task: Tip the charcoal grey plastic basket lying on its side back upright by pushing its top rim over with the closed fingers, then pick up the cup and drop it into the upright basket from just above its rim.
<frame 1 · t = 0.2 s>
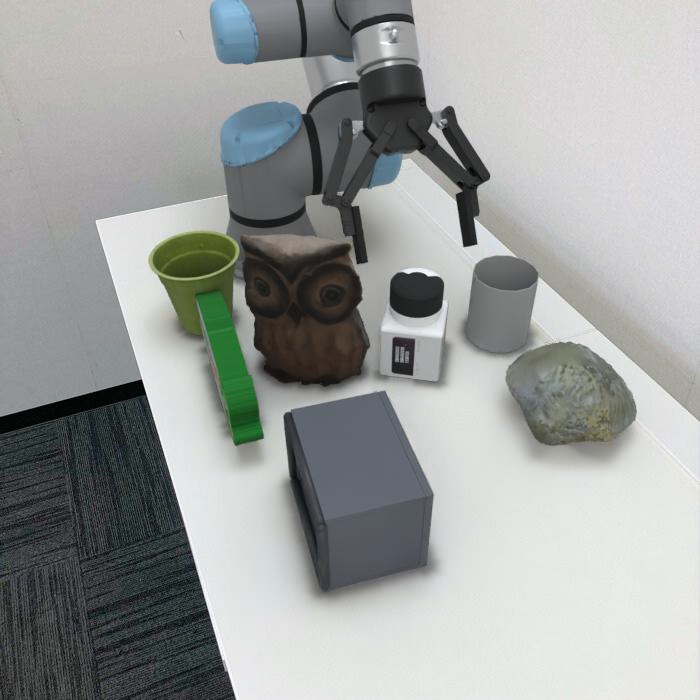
hand: (417, 255, 84), 16 cm above the table, tool tilted 35°, fingers open, 13 cm apart
decorative stone: (564, 417, 85), on the table
plant pot: (206, 322, 100), on the table, touching sign
sign: (230, 389, 89), on the table, touching plant pot
container: (412, 361, 93), on the table
cup: (496, 334, 97), on the table
basket: (358, 520, 74), on the table
owl: (317, 358, 94), on the table
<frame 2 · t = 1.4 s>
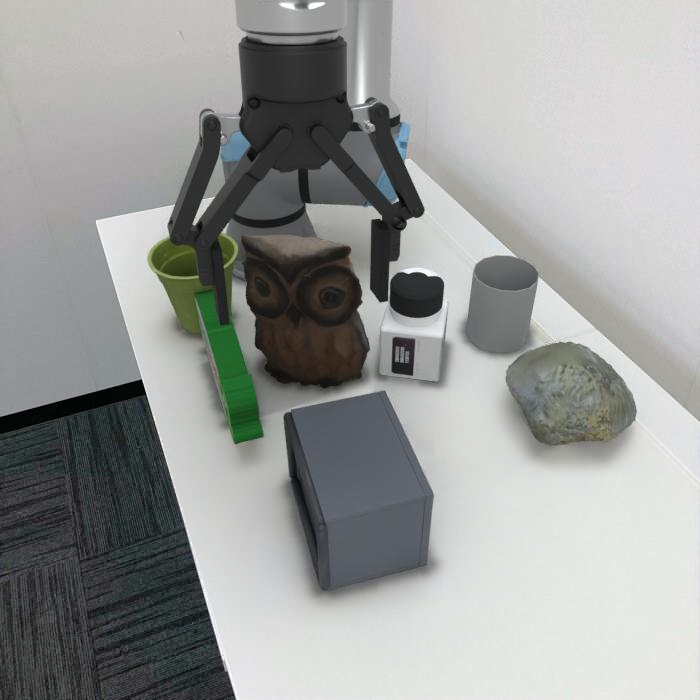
hand: (302, 306, 60), 25 cm above the table, tool pointing down, fingers open, 13 cm apart
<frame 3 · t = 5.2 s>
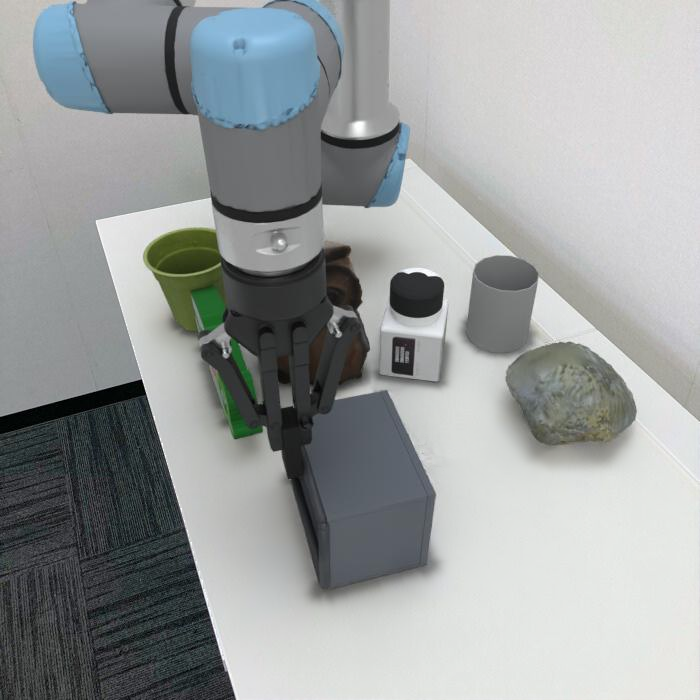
hand: (292, 466, 66), 10 cm above the table, tool pointing down, fingers closed
basket: (358, 519, 74), on the table, touching gripper
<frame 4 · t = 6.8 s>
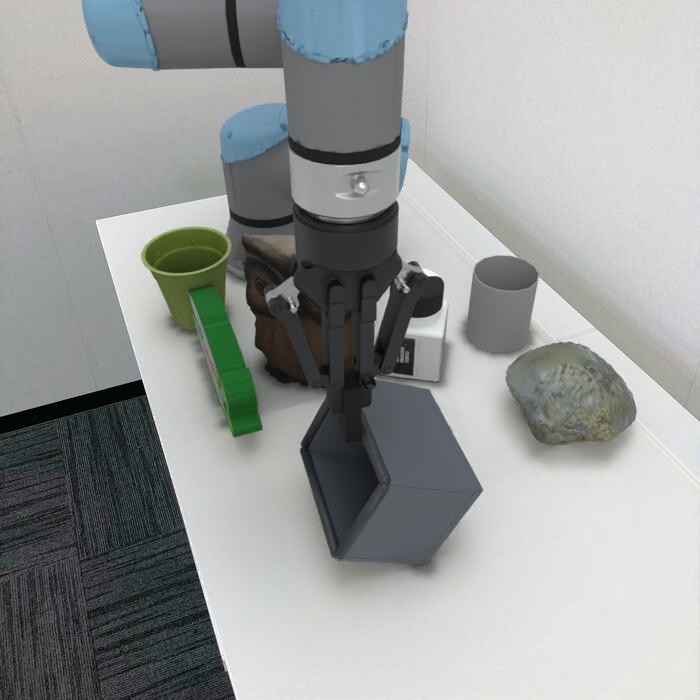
hand: (349, 431, 65), 14 cm above the table, tool pointing down, fingers closed
sign: (226, 383, 90), on the table, touching plant pot
basket: (363, 505, 72), point 2 cm above the table, tilted 27°, touching gripper
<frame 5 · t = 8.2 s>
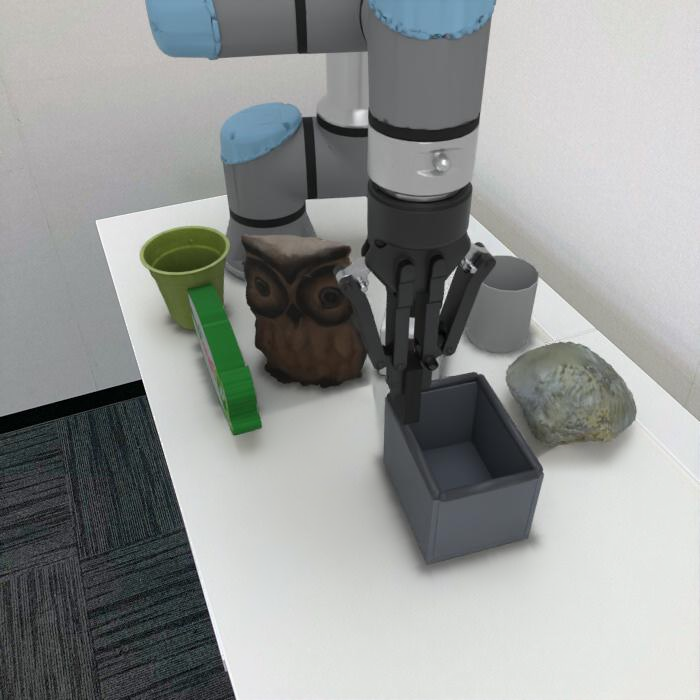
hand: (406, 413, 65), 14 cm above the table, tool pointing down, fingers closed
basket: (405, 478, 71), point 5 cm above the table, tilted 90°
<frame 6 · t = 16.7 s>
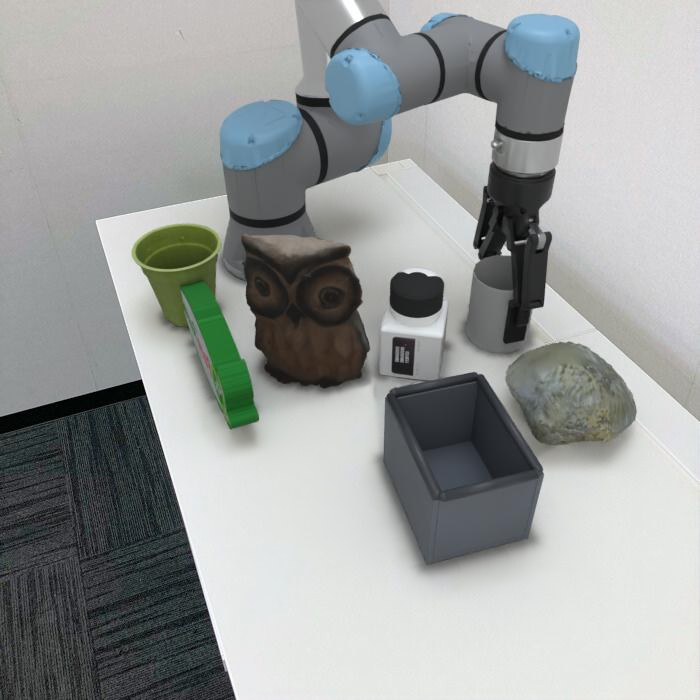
hand: (498, 320, 96), 2 cm above the table, tool pointing down, fingers closed on cup, 8 cm apart
plant pot: (190, 314, 102), on the table, touching sign
sign: (220, 377, 91), on the table, touching plant pot
cup: (496, 334, 97), on the table, touching gripper
everything else where it was.
when the fingers open (14 cm above the table, at t = 23.9 s): cup drops 11 cm, resting on basket.
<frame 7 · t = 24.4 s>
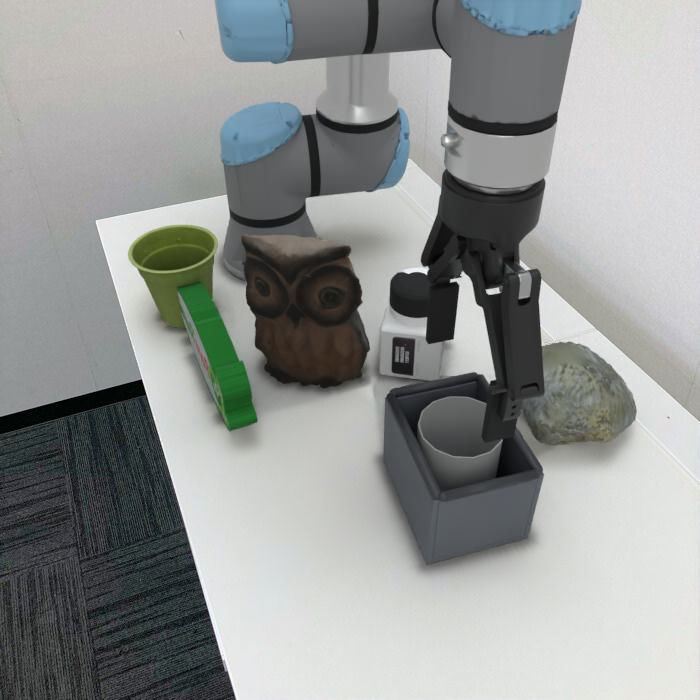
hand: (466, 384, 65), 16 cm above the table, tool pointing down, fingers open, 13 cm apart
cup: (452, 492, 76), point 1 cm above the table, touching basket
basket: (405, 478, 71), point 5 cm above the table, tilted 90°, touching cup
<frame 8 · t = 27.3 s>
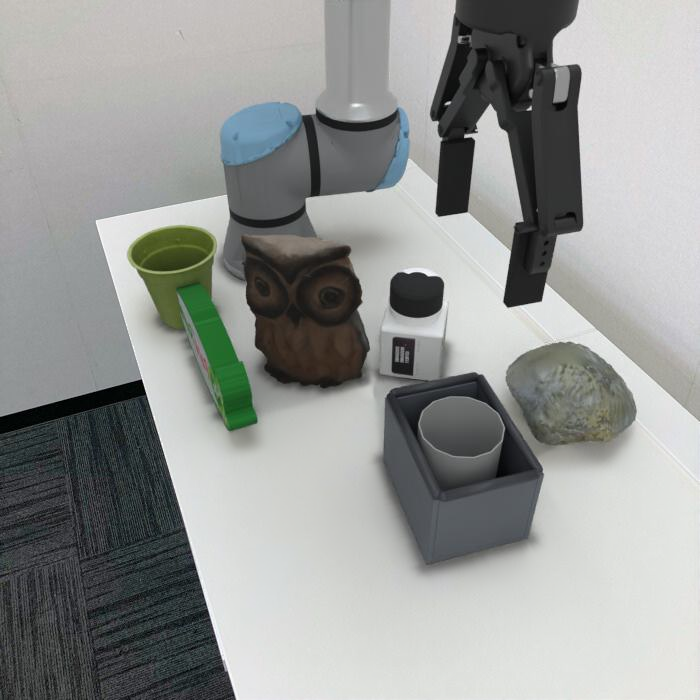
hand: (483, 253, 56), 31 cm above the table, tool pointing down, fingers open, 13 cm apart
nothing on the table moved.
at the end: basket tilted 90°; basket inside the target area (0.2 cm from its centre), point 5.0 cm above the table; cup inside the target area on the basket (0.3 cm from its centre), point -4.4 cm above the basket's base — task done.
